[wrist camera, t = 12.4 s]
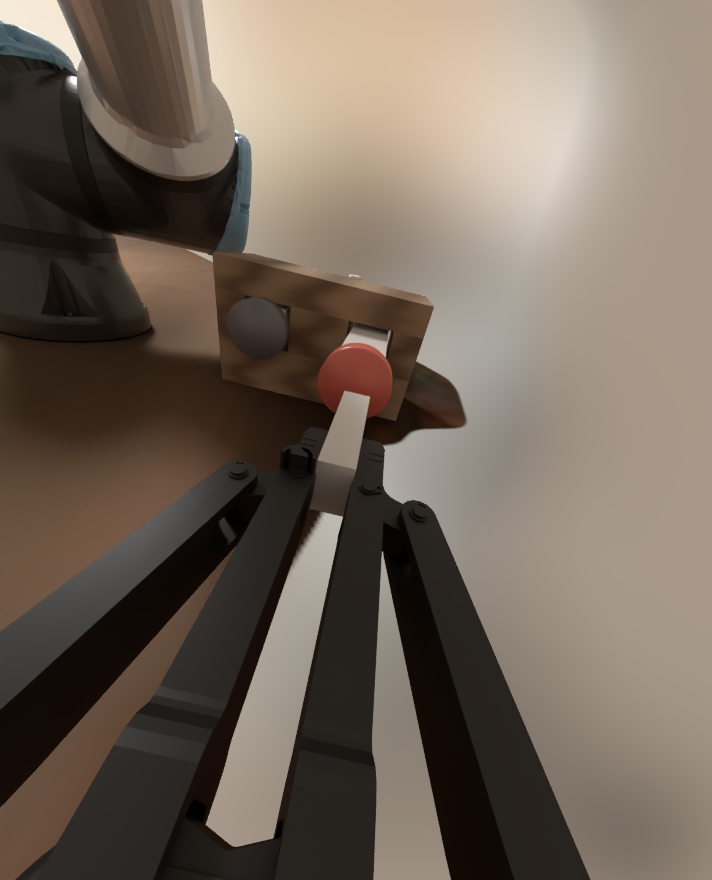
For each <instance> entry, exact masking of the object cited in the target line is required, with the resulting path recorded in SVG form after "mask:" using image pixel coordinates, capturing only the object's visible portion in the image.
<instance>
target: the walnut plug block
mask: <svg viewBox="0 0 712 880" xmlns="http://www.w3.org/2000/svg"><path fill="white" fill-rule="evenodd" d="M212 253H213V266H214V279H215V292H216V305H217V318H218V331H219V344H220V357H221V370H222V380H226V381H230V382H235V383H239V384H243V385H247V386H251V387H255V388H260V389H264V390H268V391H272V392H276V393H280V394H285V395H289V396H293V397H297V398H301V399H305V400H309V401H314V402H318V403H322V404H325V403H324V402H323V400H322V399H321V397H320V394H319V390H318V375H319V372H320V369H321V367H322V365H323V364H324V362H325V361H326V359H327V358H328V357H329V355H330V354H331V353H332V352H333V351H334V350H335V349H337V348H338V347H340V346H342V344H343V343H344V341H345V339H346V338H347V336H348V335H349V333H350V331H351V330H352V328H353V327H354V325H355V323H356V322H357V323H361V324H365V325H369V326H373V327H377V328H381V329H385V330H389V331H391V333H390V337H389V340H388V344H387V349H386V359H387V360H388V362H389V364H390V367H391V370H392V393H391V396H390V399H389V401H388V403H387V405H386V406H385V407H384V408H383V409H382V411H380V412H379V413H378V414H376V415H374V416H376V417H380V418H384V419H388V420H393V421H396V419H397V416H398V413H399V410H400V407H401V404H402V401H403V398H404V395H405V392H406V389H407V386H408V383H409V380H410V377H411V374H412V371H413V368H414V365H415V362H416V359H417V356H418V353H419V350H420V347H421V344H422V341H423V338H424V335H425V332H426V329H427V326H428V323H429V320H430V317H431V314H432V311H433V308H434V306H433V305H432V304H431V303H430V302H429V300H428V299H427V298H426V297H425V296H421V295H417V294H413V293H409V292H405V291H401V290H397V289H393V288H389V287H385V286H381V285H377V284H373V283H369V282H364V281H360V280H356V279H352V278H348V277H344V276H340V275H336V274H332V273H328V272H324V271H320V270H316V269H312V268H308V267H303V266H299V265H296V264H291V263H288V262H284V261H279V260H275V259H271V258H267V257H263V256H259V255H255V254H246V253H220V252H212ZM251 297H264V298H267V299H269V300H271V301H273V302H275V303H279V304H283V305H287V306H291V308H290V324H289V329H290V335H289V340H288V343H287V345H286V346H285V348H284V349H283V350H282V351H280V352H279V353H278V354H277V355H275V356H274V357H272V358H270V359H266V360H258V359H254V358H251V357H249V356H247V355H245V354H244V353H243V352H241V351H240V350H239V349H238V348H237V347H236V345H235V344H234V342H233V341H232V339H231V337H230V334H229V331H228V325H227V319H228V314H229V311H230V309H231V308H232V306H233V305H234V304H235V303H237V302H238V301H240V300H243V299H247V298H251Z"/></svg>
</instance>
